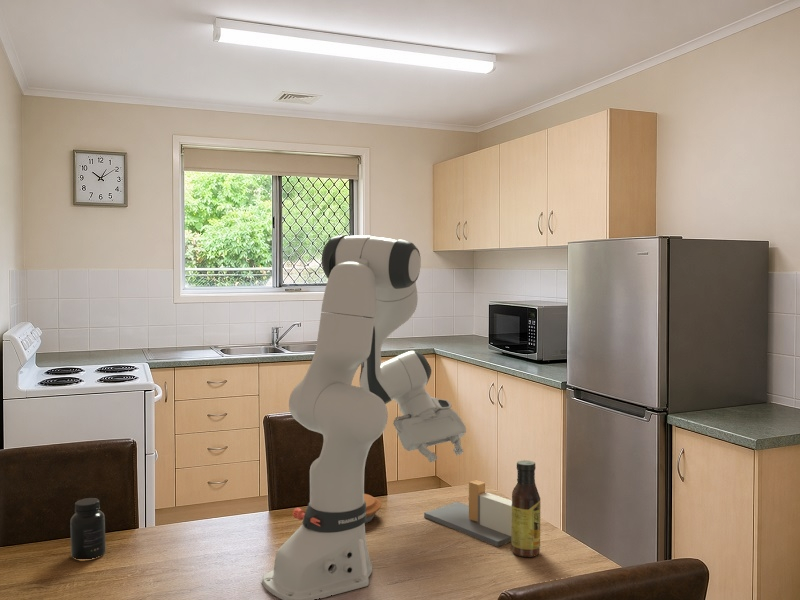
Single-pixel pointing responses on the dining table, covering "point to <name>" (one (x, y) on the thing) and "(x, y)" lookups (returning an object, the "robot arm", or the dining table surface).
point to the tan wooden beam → (475, 498)
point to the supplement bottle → (87, 530)
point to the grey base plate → (490, 518)
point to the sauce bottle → (525, 512)
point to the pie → (371, 506)
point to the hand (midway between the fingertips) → (447, 457)
